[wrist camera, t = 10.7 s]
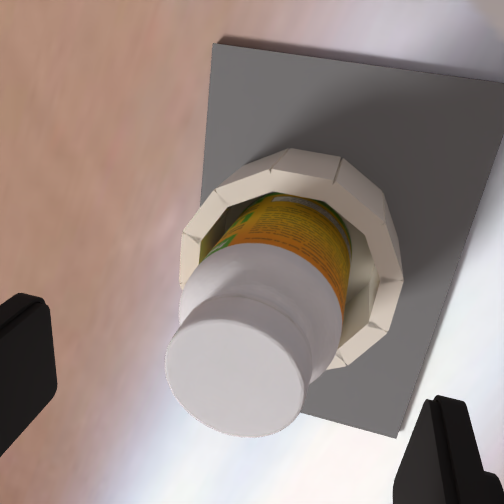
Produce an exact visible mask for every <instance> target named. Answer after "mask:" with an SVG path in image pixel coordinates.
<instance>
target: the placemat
mask: <svg viewBox="0 0 504 504" xmlns="http://www.w3.org/2000/svg"><path fill="white" fill-rule="evenodd" d="M503 134H504V83H499V82H492V81H485V80H477V79H470V78H463V77H456V76H448V75H441V74H434V73H426V72H419V71H412V70H405V69H397V68H390V67H383V66H376V65H368V64H361V63H354V62H347V61H339V60H332V59H325V58H318V57H310V56H303V55H296V54H288V53H281V52H274V51H267V50H259V49H252V48H245V47H238V46H230V45H223V44H216V43H213V47H212V60H211V73H210V86H209V99H208V112H207V124H206V137H205V150H204V163H203V176H202V189H201V202H200V207H201V206H202V205H203V203H204V202H205V201H206V199H207V198H208V197H209V195H210V194H211V193H212V191H213V190H214V189H215V188H217V187H218V186H219V185H220V184H221V183H223V182H224V181H225V180H226V179H227V178H229V177H230V176H231V175H232V174H233V173H235V172H236V171H237V170H238V169H240V168H241V167H242V166H243V165H246V164H248V163H251V162H254V161H256V160H259V159H261V158H264V157H267V156H269V155H272V154H275V153H277V152H280V151H283V150H285V149H290V148H293V149H299V150H305V151H310V152H316V153H322V154H328V155H333V156H339V157H341V160H342V159H343V158H344V159H345V160H346V161H348V162H349V163H350V164H351V165H352V166H354V167H355V168H356V169H357V170H358V171H359V172H361V173H362V174H363V175H364V176H365V177H367V178H368V179H369V180H370V181H371V182H372V183H374V184H375V185H376V186H377V187H378V188H380V189H381V190H382V193H384V196H385V199H386V202H387V205H388V208H389V211H390V214H391V218H392V221H393V224H394V227H395V230H396V233H397V236H398V241H399V248H400V255H401V263H402V270H403V278H404V279H403V280H404V282H403V285H402V289H401V292H400V295H399V299H398V302H397V305H396V309H395V312H394V315H393V318H392V322H391V325H390V328H389V331H387V334H386V335H385V336H383V337H382V338H381V339H380V340H379V341H377V342H376V343H375V344H374V345H372V346H371V347H370V348H369V349H368V350H366V351H365V352H364V353H363V354H362V355H360V356H359V357H358V358H357V359H355V360H354V361H353V362H352V363H351V364H349V365H347V364H346V366H345V367H340V368H334V369H329V370H325V371H324V372H323V373H322V374H321V375H320V377H318V378H317V379H316V380H315V381H313V382H312V383H310V384H309V386H308V390H307V394H306V398H305V402H304V405H303V407H302V409H301V411H300V412H301V413H304V414H308V415H312V416H315V417H319V418H322V419H326V420H330V421H333V422H337V423H341V424H344V425H348V426H352V427H355V428H359V429H363V430H366V431H370V432H373V433H377V434H381V435H384V436H388V437H392V438H395V439H396V438H397V435H398V432H399V429H400V427H401V424H402V421H403V418H404V415H405V412H406V410H407V407H408V404H409V401H410V398H411V395H412V392H413V390H414V387H415V384H416V381H417V378H418V375H419V373H420V370H421V367H422V364H423V361H424V358H425V356H426V353H427V350H428V347H429V344H430V341H431V339H432V336H433V333H434V330H435V327H436V324H437V322H438V319H439V316H440V313H441V310H442V307H443V305H444V302H445V299H446V296H447V293H448V290H449V287H450V285H451V282H452V279H453V276H454V273H455V270H456V268H457V265H458V262H459V259H460V256H461V253H462V251H463V248H464V245H465V242H466V239H467V236H468V234H469V231H470V228H471V225H472V222H473V219H474V217H475V214H476V211H477V208H478V205H479V202H480V199H481V197H482V194H483V191H484V188H485V185H486V182H487V180H488V177H489V174H490V171H491V168H492V165H493V163H494V160H495V157H496V154H497V151H498V148H499V146H500V143H501V140H502V137H503Z"/></svg>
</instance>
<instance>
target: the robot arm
mask: <svg viewBox="0 0 504 504" xmlns="http://www.w3.org/2000/svg"><path fill="white" fill-rule="evenodd" d="M56 390H57V376H56V366H55V356H54V346H53V336H52V326H51V316H50V309H49V307H48V305H46V304H45V301H44V300H43V298H40V297H37V296H32V295H28V294H24V293H18V294H16V295H14V296H13V297H11V298H10V299H8V300H7V301H6V302H4V303H3V304H1V305H0V457H1V456H2V455H3V453H4V452H5V451H6V450H7V449H8V448H9V447H10V446H11V444H12V443H13V442H14V441H15V440H16V439H17V438H18V437H19V435H20V434H21V433H22V432H23V431H24V430H25V429H26V428H27V426H28V425H29V424H30V423H31V422H32V421H33V420H34V419H35V417H36V416H37V415H38V414H39V413H40V412H41V411H42V410H43V408H44V407H45V406H46V405H47V404H48V403H49V402H50V401H51V399H52V398H53V397H54V395H55V393H56ZM393 504H504V491H503V488H502V485H501V482H500V480H499V478H498V477H497V476H496V475H495V474H493V473H490V472H486V471H484V470H483V466H482V462H481V458H480V455H479V451H478V447H477V443H476V440H475V436H474V432H473V428H472V425H471V421H470V417H469V413H468V410H467V406H466V404H465V402H464V401H460V400H456V399H452V398H448V397H444V396H440V395H436V397H435V398H434V400H428V399H426V400H425V402H424V404H423V407H422V409H421V412H420V414H419V417H418V420H417V422H416V425H415V427H414V430H413V433H412V435H411V438H410V440H409V443H408V446H407V448H406V451H405V453H404V456H403V459H402V461H401V464H400V466H399V469H398V472H397V474H396V477H395V480H394V485H393Z"/></svg>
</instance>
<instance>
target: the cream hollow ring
mask: <svg viewBox="0 0 504 504" xmlns="http://www.w3.org/2000/svg"><path fill="white" fill-rule="evenodd" d="M273 191H274V192H279V193H284V194H290V195H295V196H300V197H305V198H310V199H316V200H321V201H325V202H326V203H327V204H328V205H330V206H331V207H332V208H333V209H334V210H336V211H337V212H338V213H339V214H340V215H341V216H342V217H343V219H344V221H345V222H346V224H347V227H348V229H349V232H350V236H351V241H352V260H351V267H350V274H349V281H348V288H347V295H346V302H345V310H344V319H343V326H342V333H341V337H340V342H339V345H338V349H337V352H336V354H335V356H334V358H333V360H332V362H331V363H330V365H329V366H328V368H327V369H326V370H329V369H334V368H340V367H345V366H346V364H347V365H349V364H351V363H352V362H353V361H354V360H355V359H357V358H358V357H359V356H360V355H362V354H363V353H364V352H365V351H366V350H368V349H369V348H370V347H371V346H372V345H374V344H375V343H376V342H377V341H379V340H380V339H381V338H382V337H383V336H385V335H386V334H387V331H389V328H390V325H391V322H392V318H393V315H394V312H395V309H396V305H397V302H398V299H399V295H400V292H401V289H402V285H403V282H404V280H403V279H404V278H403V270H402V263H401V255H400V248H399V241H398V236H397V233H396V230H395V227H394V224H393V221H392V218H391V214H390V211H389V208H388V205H387V202H386V199H385V196H384V193H382V190H381V189H380V188H378V187H377V186H376V185H375V184H374V183H372V182H371V181H370V180H369V179H368V178H367V177H365V176H364V175H363V174H362V173H361V172H359V171H358V170H357V169H356V168H355V167H354V166H352V165H351V164H350V163H349V162H348V161H346V160H345V159H344V158H343V159H342V160H341V157H339V156H333V155H328V154H322V153H316V152H310V151H305V150H299V149H293V148H290V149H285V150H283V151H280V152H277V153H275V154H272V155H269V156H267V157H264V158H261V159H259V160H256V161H254V162H251V163H248V164H246V165H243V166H242V167H241V168H240V169H238V170H237V171H236V172H235V173H233V174H232V175H231V176H230V177H229V178H227V179H226V180H225V181H224V182H223V183H221V184H220V185H219V186H218V187H217V188H215V189H214V190H213V191H212V193H211V194H210V195H209V197H208V198H207V199H206V201H205V202H204V203H203V205H202V206H201V207H200V209H199V210H198V211H197V213H196V214H195V215H194V217H193V218H192V219H191V221H190V222H189V223H188V225H187V226H186V227H185V229H184V230H183V233H182V239H181V256H180V272H179V282H181V283H180V286H181V289H182V291H183V289H184V287H185V284H186V282H187V281H188V279H189V277H190V276H191V274H192V273H193V272H194V270H195V269H196V268H197V266H198V265H199V264H200V263H201V262H202V260H203V259H204V258H205V257H206V256H207V255H208V253H209V252H210V251H211V250H212V249H213V247H214V246H215V245H216V244H217V243H218V241H219V240H220V239H221V238H222V237H223V235H224V234H225V233H226V232H227V231H228V229H229V228H230V227H231V226H232V224H233V223H234V222H235V221H236V220H237V218H238V217H239V216H240V214H241V213H242V212H243V211H244V210H245V209H246V208H247V207H248V206H249V205H250V204H251V203H252V202H253V201H255V200H256V199H257V198H259V197H261V196H263V195H265V194H267V193H270V192H273Z"/></svg>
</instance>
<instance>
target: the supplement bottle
mask: <svg viewBox="0 0 504 504" xmlns="http://www.w3.org/2000/svg"><path fill="white" fill-rule="evenodd" d="M351 260H352V241H351V236H350V232H349V229H348V227H347V224H346V222H345V221H344V219H343V217H342V216H341V215H340V214H339V213H338V212H337V211H336V210H334V209H333V208H332V207H331V206H330V205H328V204H327V203H326V202H325V201H321V200H316V199H310V198H305V197H300V196H295V195H290V194H284V193H279V192H274V191H273V192H270V193H267V194H265V195H263V196H261V197H259V198H257V199H256V200H255V201H253V202H252V203H251V204H250V205H249V206H248V207H247V208H246V209H245V210H244V211H243V212H242V213H241V214H240V216H239V217H238V218H237V220H236V221H235V222H234V223H233V224H232V226H231V227H230V228H229V229H228V231H227V232H226V233H225V234H224V235H223V237H222V238H221V239H220V240H219V241H218V243H217V244H216V245H215V246H214V247H213V249H212V250H211V251H210V252H209V253H208V255H207V256H206V257H205V258H204V259H203V260H202V262H201V263H200V264H199V265H198V266H197V268H196V269H195V270H194V272H193V273H192V274H191V276H190V277H189V279H188V281H187V282H186V284H185V287H184V289H183V291H182V295H181V298H180V304H179V323H180V327H179V329H178V330H177V332H176V333H175V335H174V336H173V338H172V340H171V341H170V343H169V346H168V348H167V351H166V355H165V373H166V378H167V381H168V384H169V386H170V389H171V391H172V393H173V395H174V396H175V398H176V399H177V401H178V402H179V403H180V404H181V406H182V407H183V408H184V409H185V410H186V411H187V412H188V413H189V414H190V415H191V416H193V417H194V418H195V419H196V420H198V421H200V422H201V423H203V424H204V425H206V426H208V427H210V428H212V429H214V430H216V431H219V432H221V433H224V434H228V435H232V436H238V437H250V438H255V437H263V436H267V435H271V434H274V433H276V432H279V431H281V430H283V429H284V428H286V427H287V426H288V425H290V424H291V423H292V422H293V421H294V420H295V419H296V417H297V416H298V415H299V413H300V411H301V409H302V407H303V405H304V402H305V398H306V394H307V390H308V386H309V384H310V383H312V382H313V381H315V380H316V379H317V378H318V377H320V375H321V374H322V373H323V372H324V371H325V370H326V369H327V368H328V366H329V365H330V363H331V362H332V360H333V358H334V356H335V354H336V352H337V349H338V345H339V342H340V337H341V333H342V326H343V319H344V310H345V302H346V295H347V288H348V281H349V274H350V267H351Z"/></svg>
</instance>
